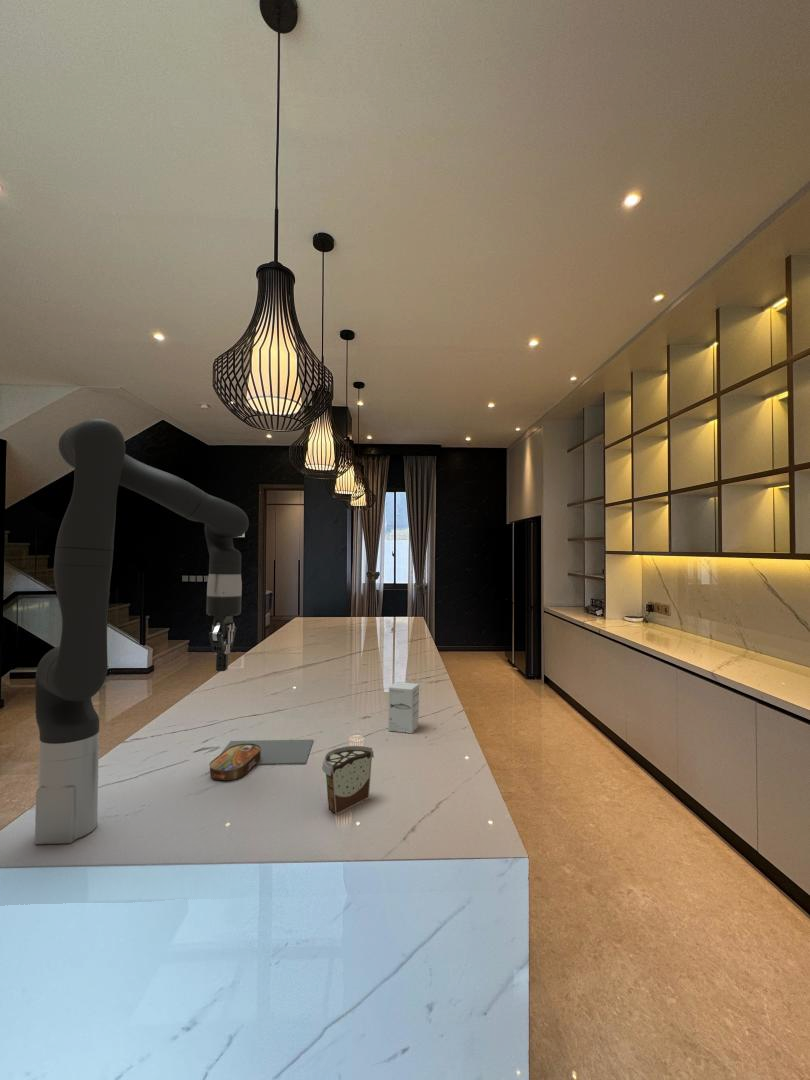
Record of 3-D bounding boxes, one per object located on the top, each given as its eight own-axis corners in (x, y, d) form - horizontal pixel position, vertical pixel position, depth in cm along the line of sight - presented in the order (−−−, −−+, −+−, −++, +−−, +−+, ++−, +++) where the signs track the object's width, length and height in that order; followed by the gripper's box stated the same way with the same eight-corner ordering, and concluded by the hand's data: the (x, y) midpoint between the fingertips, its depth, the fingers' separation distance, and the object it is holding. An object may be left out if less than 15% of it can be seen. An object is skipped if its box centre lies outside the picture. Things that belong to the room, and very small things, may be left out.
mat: (305, 764, 127) (305, 762, 127) (212, 765, 126) (212, 764, 126) (313, 740, 143) (313, 739, 143) (230, 742, 142) (230, 740, 142)
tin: (236, 771, 116) (201, 765, 118) (235, 786, 117) (200, 779, 118) (267, 744, 131) (236, 739, 133) (266, 757, 131) (235, 751, 133)
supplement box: (387, 731, 151) (387, 687, 152) (395, 723, 158) (395, 681, 159) (412, 734, 149) (412, 688, 149) (419, 726, 156) (419, 682, 156)
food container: (352, 787, 115) (353, 740, 115) (373, 795, 111) (374, 747, 111) (308, 808, 105) (309, 757, 105) (330, 818, 101) (330, 765, 101)
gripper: (232, 596, 115) (229, 676, 114) (248, 592, 128) (246, 665, 127) (197, 595, 115) (194, 676, 114) (217, 592, 128) (214, 665, 127)
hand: (221, 670), depth 120 cm, fingers closed
